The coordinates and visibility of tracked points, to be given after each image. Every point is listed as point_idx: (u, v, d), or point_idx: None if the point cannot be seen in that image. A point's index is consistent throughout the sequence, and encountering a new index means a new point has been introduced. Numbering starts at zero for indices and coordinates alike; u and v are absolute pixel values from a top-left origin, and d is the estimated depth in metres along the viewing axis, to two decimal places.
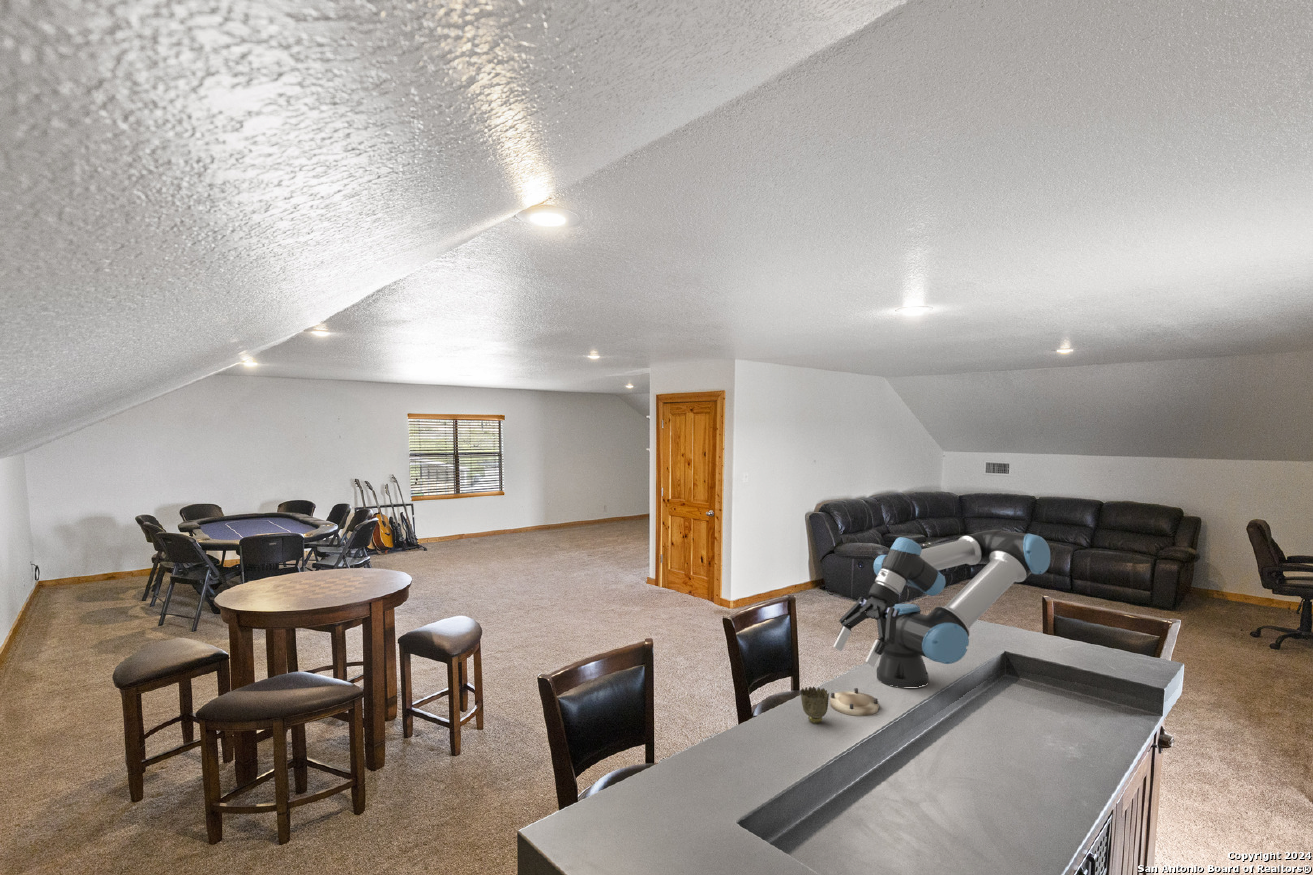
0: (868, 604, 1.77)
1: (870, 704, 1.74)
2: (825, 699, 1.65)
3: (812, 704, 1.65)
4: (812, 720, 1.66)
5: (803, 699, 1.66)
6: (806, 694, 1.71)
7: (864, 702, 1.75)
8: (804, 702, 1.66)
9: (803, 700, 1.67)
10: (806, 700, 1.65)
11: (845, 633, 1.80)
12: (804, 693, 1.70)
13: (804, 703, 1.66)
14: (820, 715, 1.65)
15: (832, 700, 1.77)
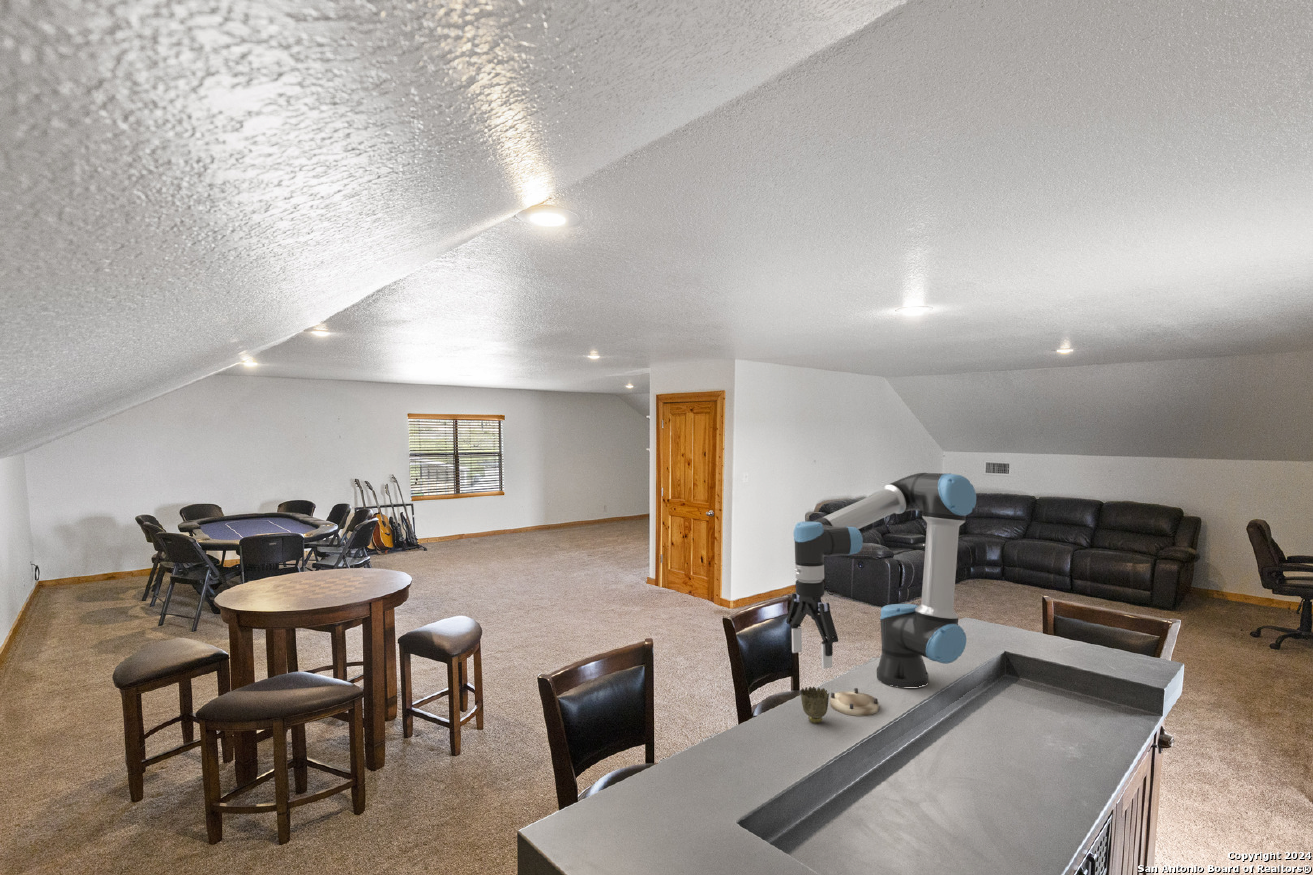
0: (801, 603, 1.69)
1: (870, 704, 1.74)
2: (825, 699, 1.65)
3: (812, 704, 1.65)
4: (812, 720, 1.66)
5: (803, 699, 1.66)
6: (806, 694, 1.71)
7: (864, 702, 1.75)
8: (804, 702, 1.66)
9: (803, 700, 1.67)
10: (806, 700, 1.65)
11: (796, 634, 1.74)
12: (804, 693, 1.70)
13: (804, 703, 1.66)
14: (820, 715, 1.65)
15: (832, 700, 1.77)
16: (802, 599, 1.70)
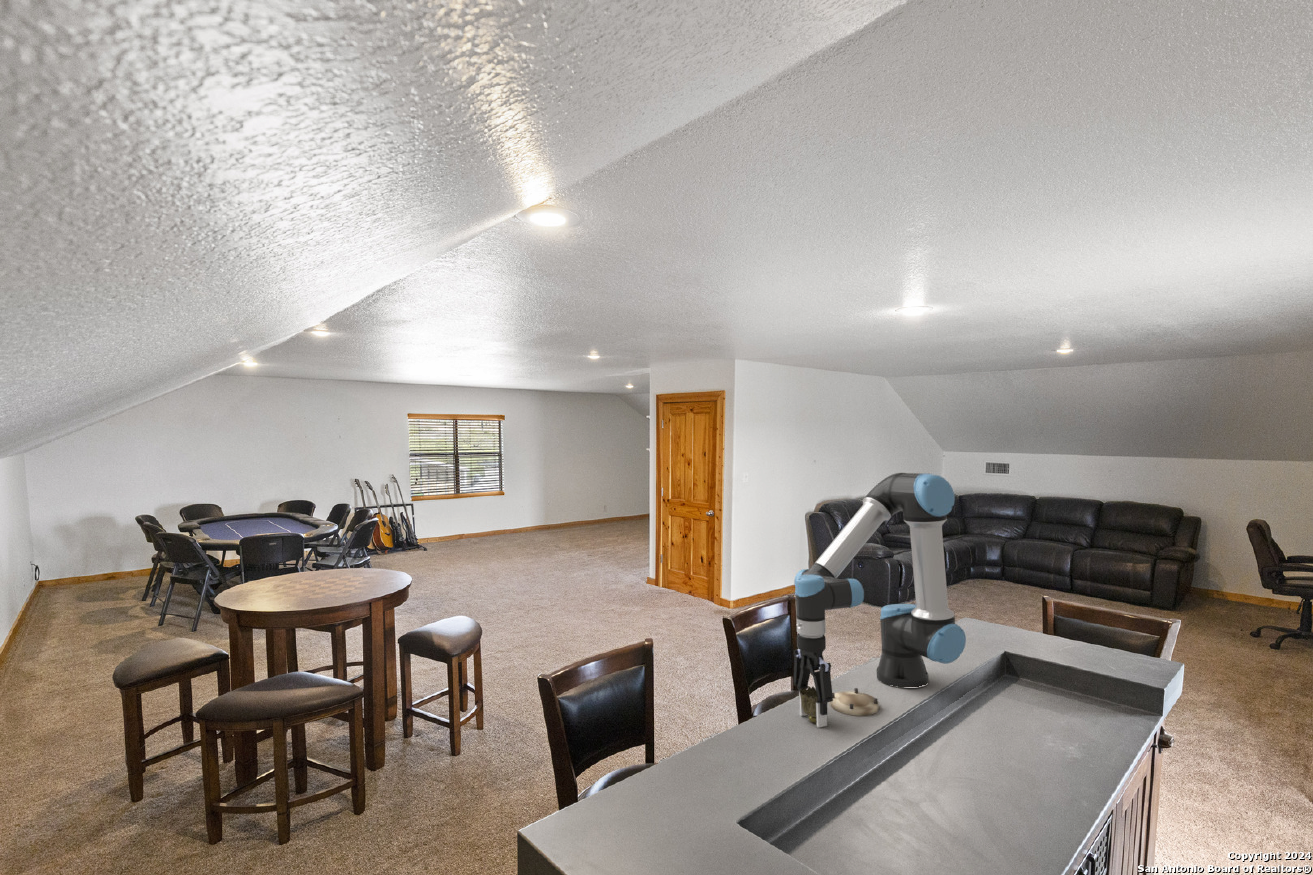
0: (802, 657, 1.69)
1: (870, 704, 1.74)
2: None
3: (811, 703, 1.65)
4: (812, 720, 1.66)
5: (802, 698, 1.67)
6: (805, 694, 1.71)
7: (864, 702, 1.75)
8: (803, 701, 1.66)
9: (802, 699, 1.67)
10: (805, 699, 1.66)
11: None
12: (803, 693, 1.71)
13: (803, 702, 1.66)
14: None
15: None
16: (803, 651, 1.70)
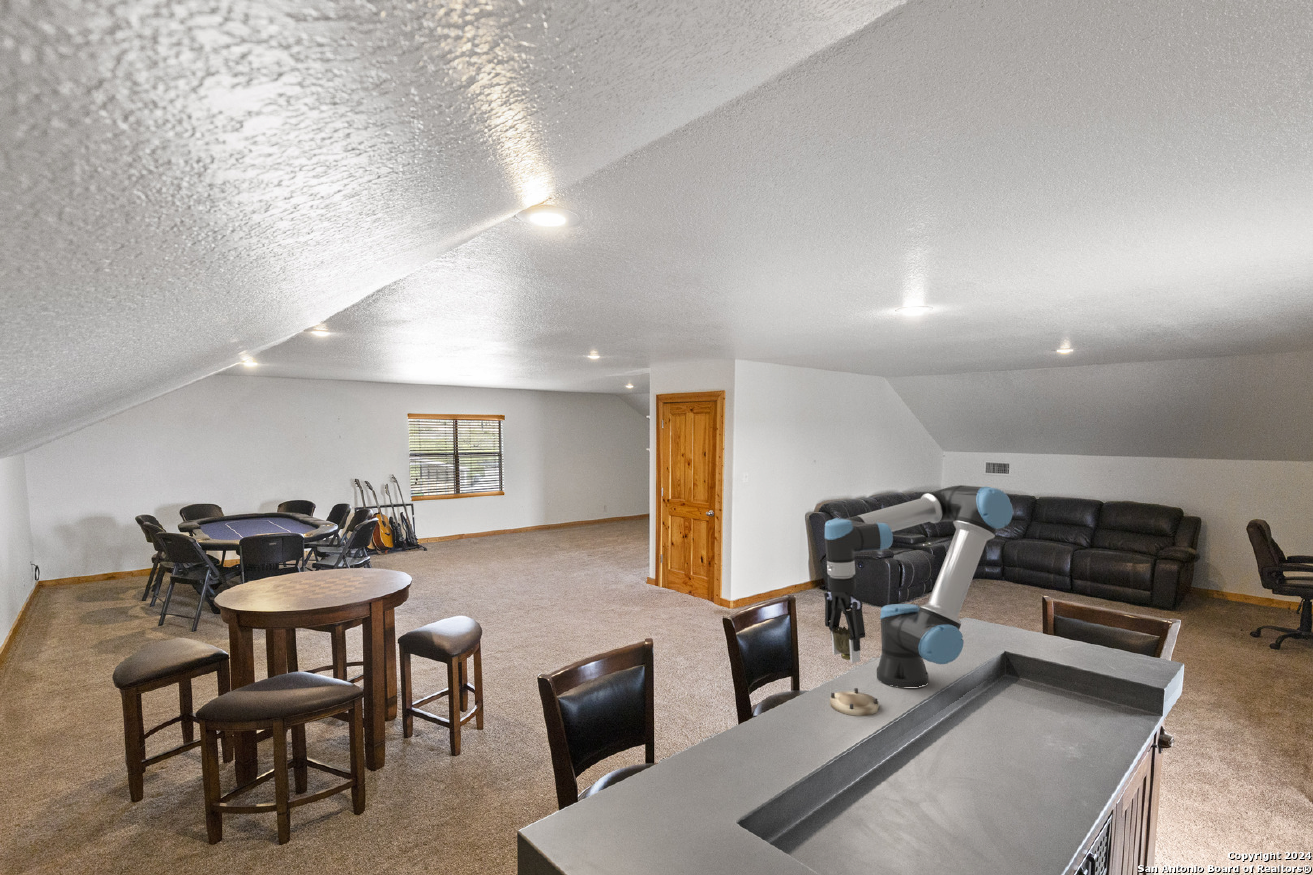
0: (833, 598, 1.76)
1: (870, 704, 1.74)
2: None
3: (844, 641, 1.72)
4: (845, 657, 1.73)
5: (835, 637, 1.74)
6: None
7: (864, 702, 1.75)
8: (836, 640, 1.74)
9: (835, 638, 1.74)
10: (838, 637, 1.73)
11: None
12: (835, 633, 1.78)
13: (836, 641, 1.74)
14: None
15: (832, 700, 1.77)
16: (834, 593, 1.77)
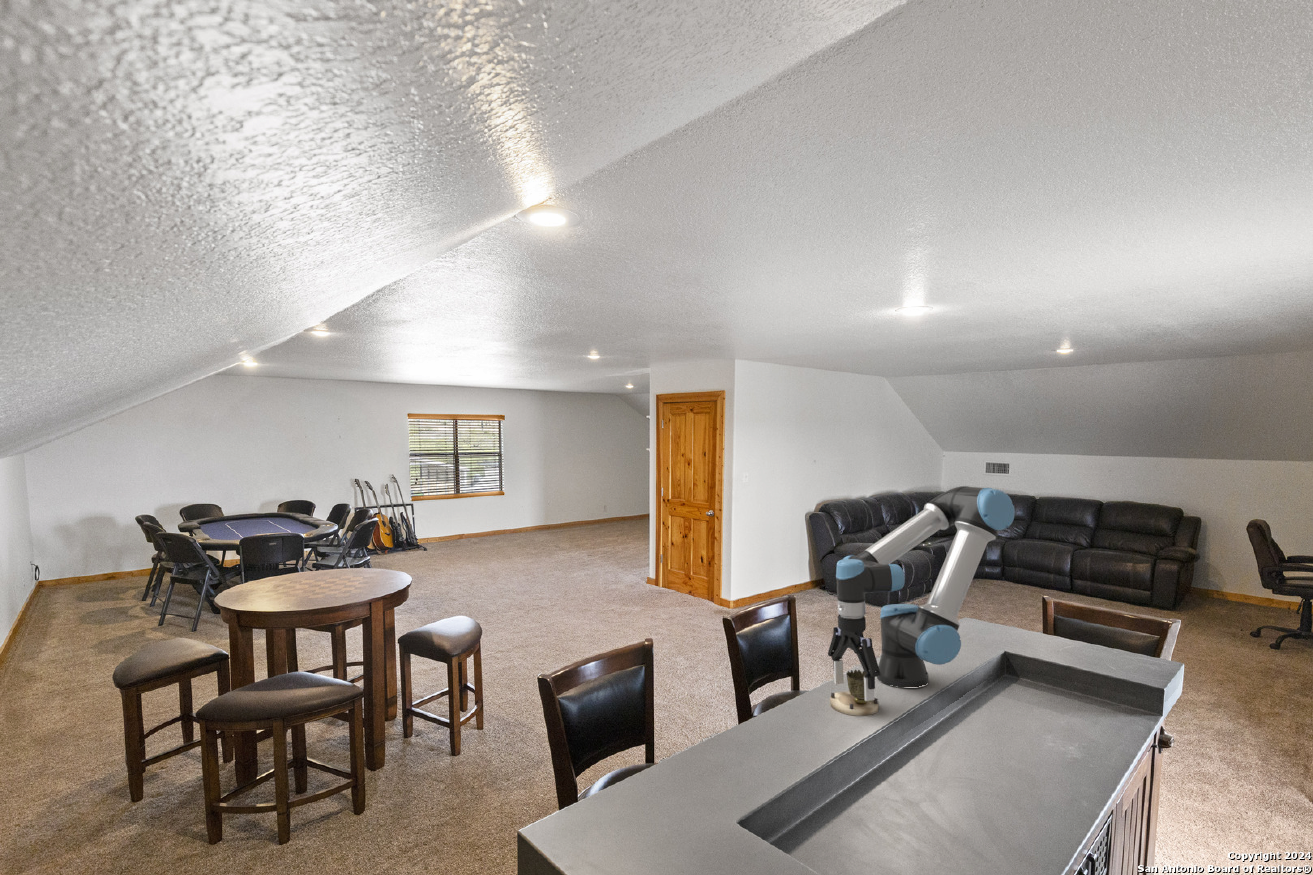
0: (843, 637, 1.78)
1: (870, 704, 1.74)
2: None
3: (858, 686, 1.72)
4: (858, 701, 1.74)
5: (849, 681, 1.74)
6: (851, 677, 1.78)
7: None
8: (850, 684, 1.73)
9: (849, 682, 1.74)
10: (852, 682, 1.73)
11: (838, 666, 1.83)
12: (850, 676, 1.78)
13: (850, 685, 1.74)
14: None
15: (832, 700, 1.77)
16: (844, 633, 1.79)
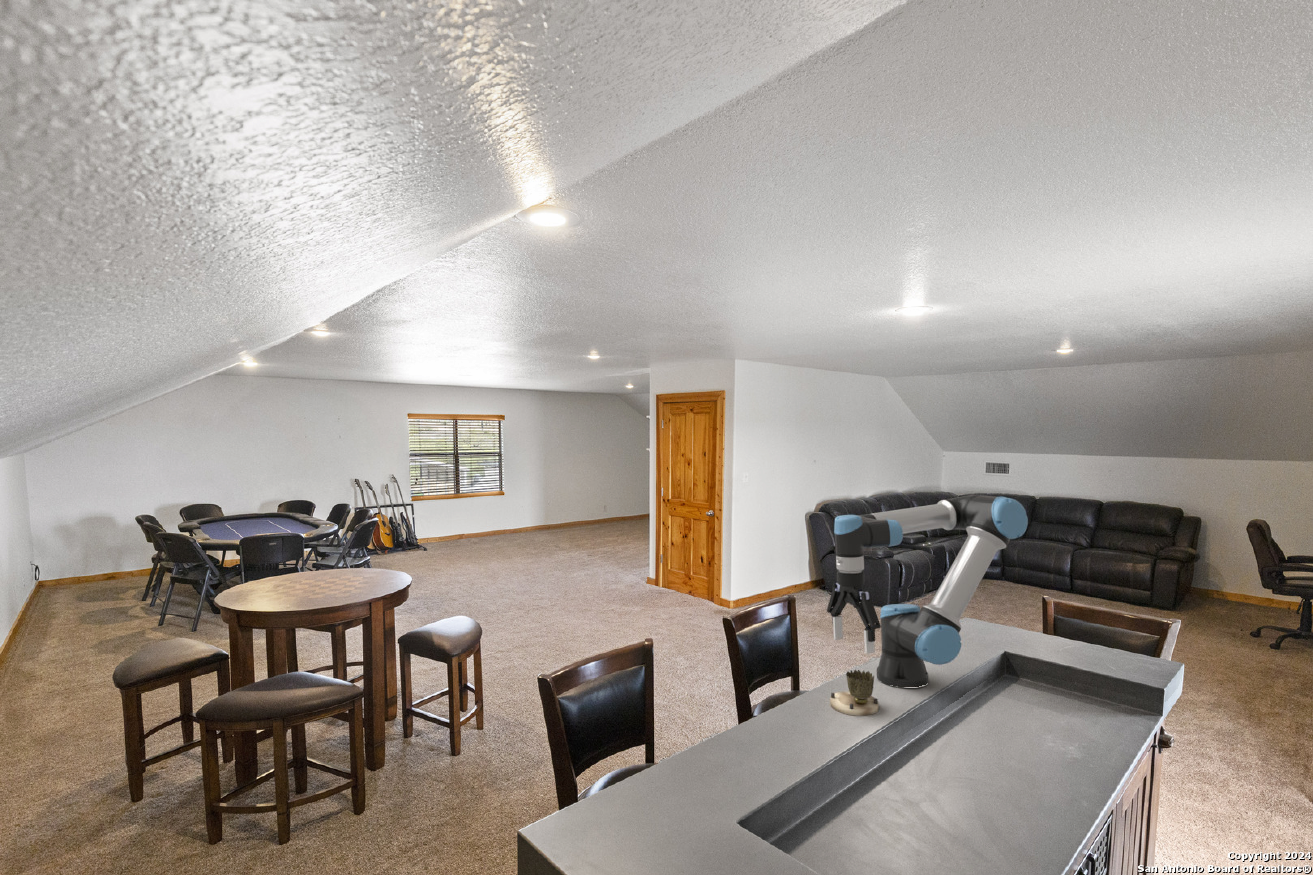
0: (842, 593, 1.78)
1: (870, 704, 1.74)
2: (871, 681, 1.72)
3: (858, 686, 1.72)
4: (858, 701, 1.74)
5: (849, 681, 1.74)
6: (851, 677, 1.78)
7: None
8: (850, 684, 1.74)
9: (849, 682, 1.74)
10: (852, 682, 1.73)
11: (837, 622, 1.83)
12: (849, 676, 1.78)
13: (850, 685, 1.74)
14: (866, 696, 1.72)
15: (832, 700, 1.77)
16: (843, 589, 1.79)
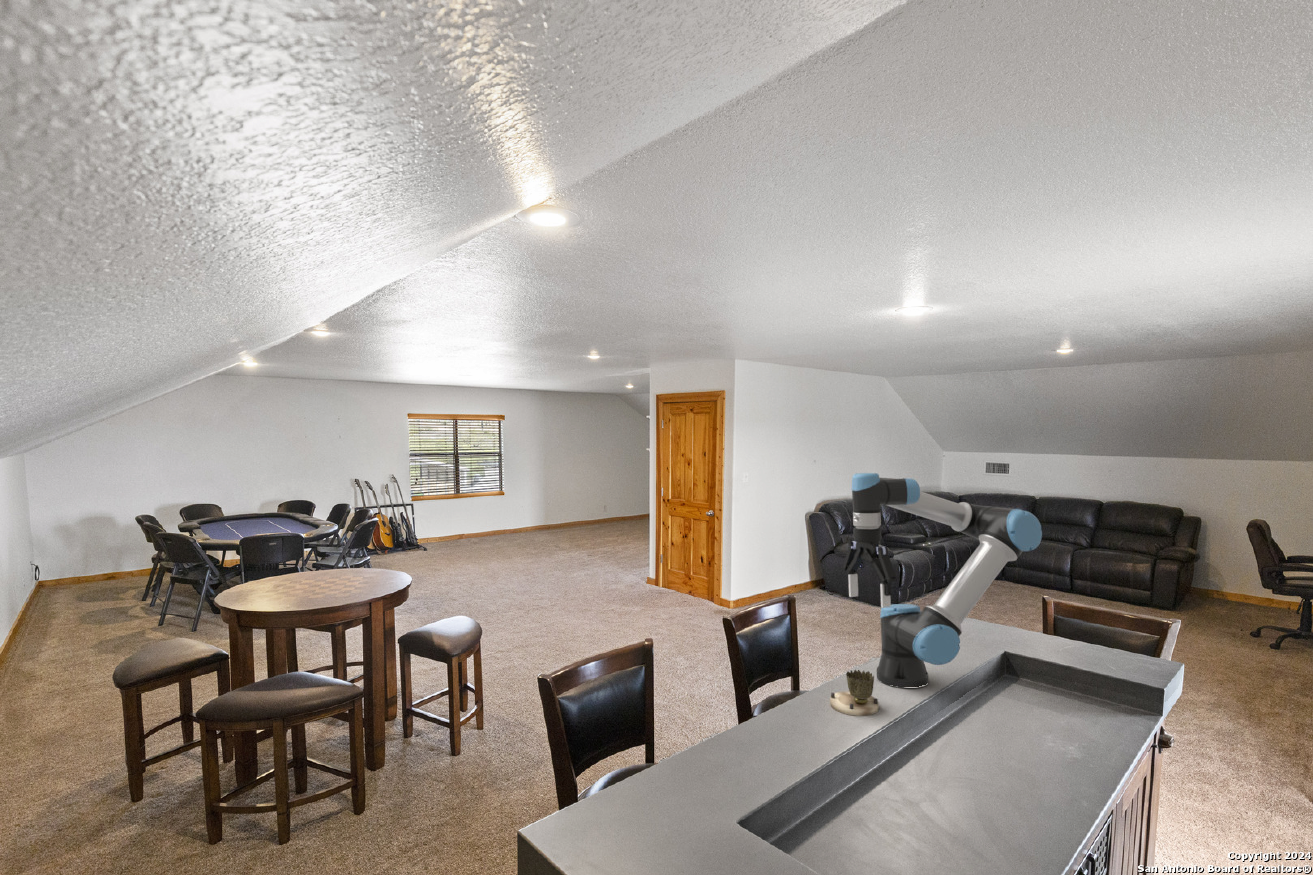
0: (858, 549, 1.80)
1: (870, 704, 1.74)
2: (871, 681, 1.72)
3: (858, 686, 1.72)
4: (858, 701, 1.74)
5: (849, 681, 1.74)
6: (851, 677, 1.78)
7: None
8: (850, 684, 1.74)
9: (849, 682, 1.74)
10: (852, 682, 1.73)
11: (853, 579, 1.85)
12: (849, 676, 1.78)
13: (850, 685, 1.74)
14: (866, 696, 1.72)
15: (832, 700, 1.77)
16: (859, 545, 1.81)
